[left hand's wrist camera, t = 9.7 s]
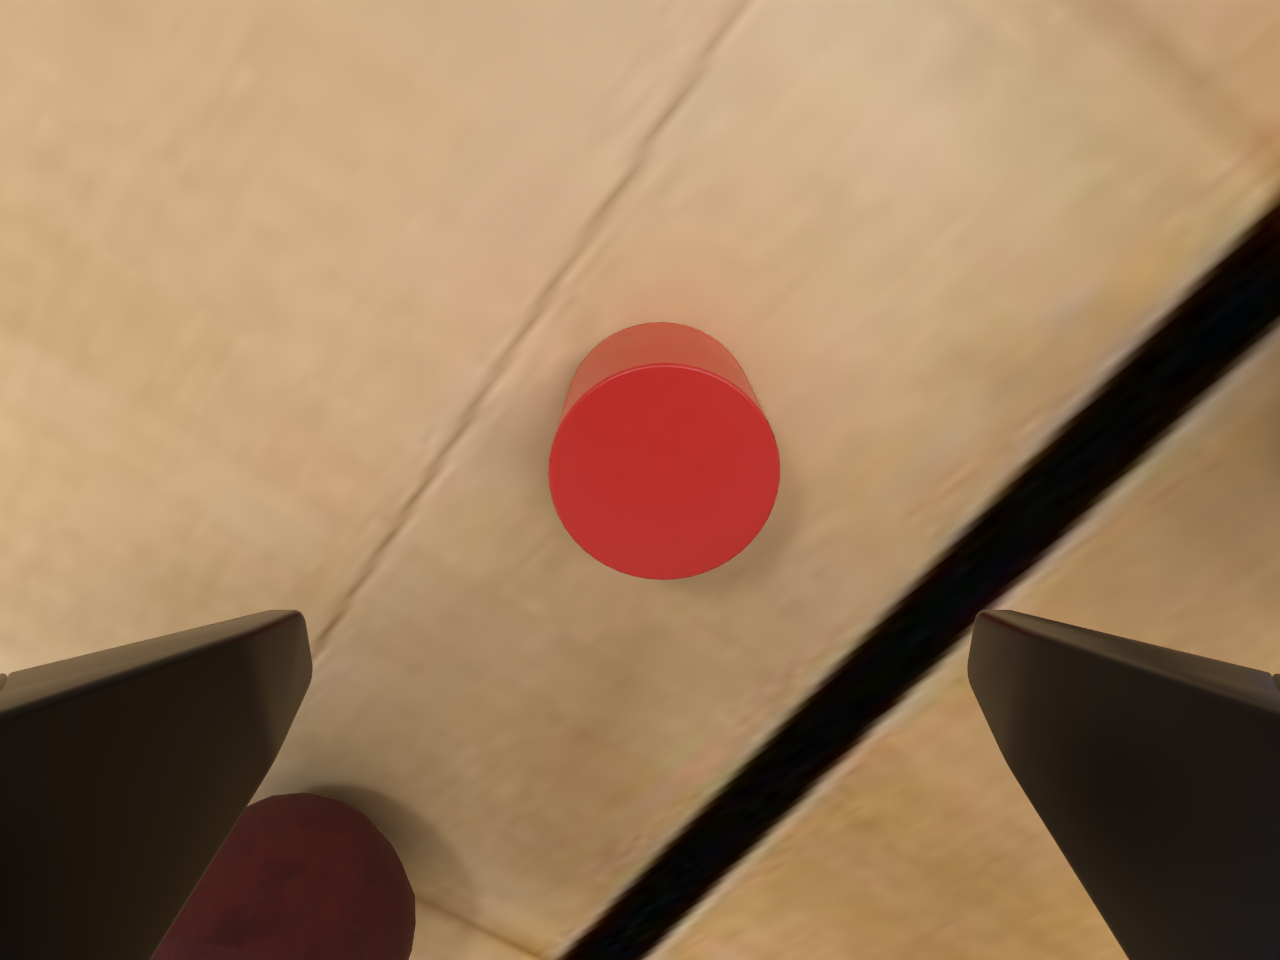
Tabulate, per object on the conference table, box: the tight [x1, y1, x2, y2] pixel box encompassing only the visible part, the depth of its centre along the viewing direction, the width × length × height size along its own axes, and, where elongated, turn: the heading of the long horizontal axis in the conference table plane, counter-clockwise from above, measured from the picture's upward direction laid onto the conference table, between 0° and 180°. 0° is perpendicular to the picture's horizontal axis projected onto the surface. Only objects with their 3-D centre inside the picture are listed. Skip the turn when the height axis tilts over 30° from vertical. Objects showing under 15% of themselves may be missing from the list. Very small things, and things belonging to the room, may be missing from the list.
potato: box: [151, 793, 415, 960], centre depth 24 cm, size 7×8×7 cm
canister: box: [548, 322, 780, 580], centre depth 20 cm, size 5×5×5 cm
